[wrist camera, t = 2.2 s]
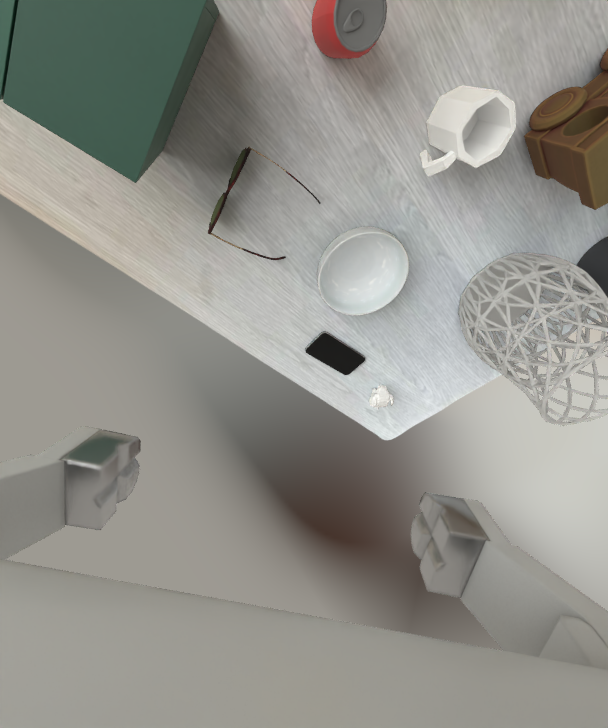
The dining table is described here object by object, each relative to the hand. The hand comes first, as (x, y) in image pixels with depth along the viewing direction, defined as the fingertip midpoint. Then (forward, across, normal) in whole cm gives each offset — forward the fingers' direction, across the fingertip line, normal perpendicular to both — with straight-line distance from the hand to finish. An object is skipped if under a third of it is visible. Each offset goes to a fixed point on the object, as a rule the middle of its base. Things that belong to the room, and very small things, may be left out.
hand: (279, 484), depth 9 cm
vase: (+72, -43, -8) cm, 84 cm away
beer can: (+45, +4, -36) cm, 58 cm away
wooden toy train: (+56, -36, -38) cm, 77 cm away
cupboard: (+42, +27, -28) cm, 57 cm away
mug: (+54, -15, -30) cm, 63 cm away
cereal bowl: (+61, -7, -9) cm, 62 cm away
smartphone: (+71, -8, +13) cm, 73 cm away
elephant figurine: (+80, -23, +23) cm, 87 cm away
